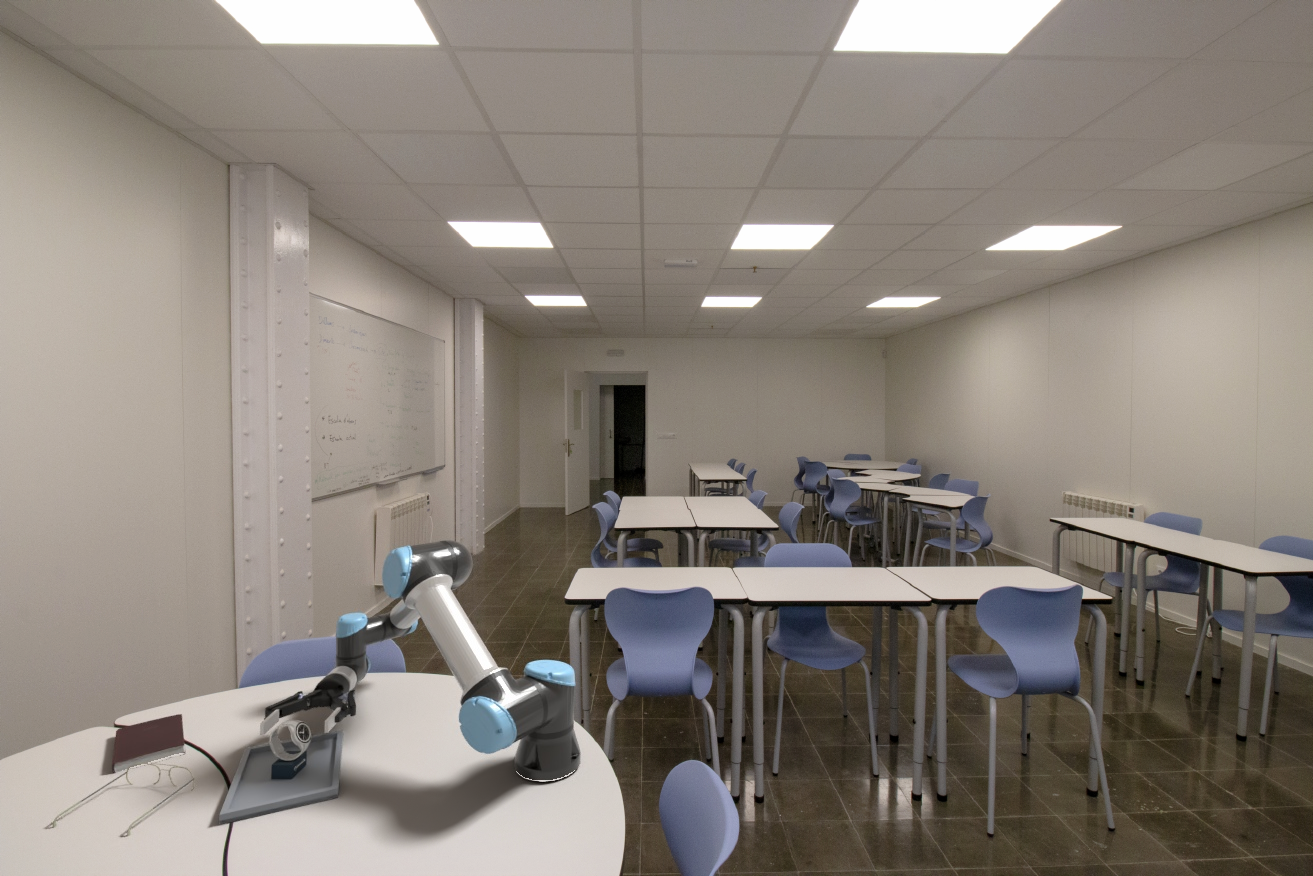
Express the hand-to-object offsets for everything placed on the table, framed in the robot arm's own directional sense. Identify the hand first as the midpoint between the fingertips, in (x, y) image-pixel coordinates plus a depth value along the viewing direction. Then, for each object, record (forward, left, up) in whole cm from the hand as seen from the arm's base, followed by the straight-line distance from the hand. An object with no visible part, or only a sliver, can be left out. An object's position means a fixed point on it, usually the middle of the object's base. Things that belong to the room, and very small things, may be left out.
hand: (294, 728), depth 128 cm
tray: (-3, +1, -9) cm, 10 cm away
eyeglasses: (-2, +28, -10) cm, 29 cm away
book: (+25, +31, -10) cm, 41 cm away
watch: (-2, 0, -9) cm, 9 cm away
